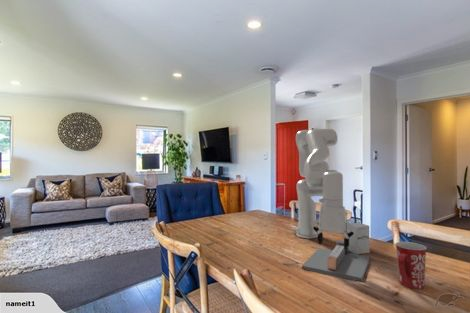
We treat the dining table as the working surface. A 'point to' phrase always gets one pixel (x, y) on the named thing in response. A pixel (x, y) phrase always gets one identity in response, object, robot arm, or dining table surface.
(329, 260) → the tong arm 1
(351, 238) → the supplement box
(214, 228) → the dining table surface
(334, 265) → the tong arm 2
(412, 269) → the mug
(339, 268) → the mat
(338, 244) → the block
